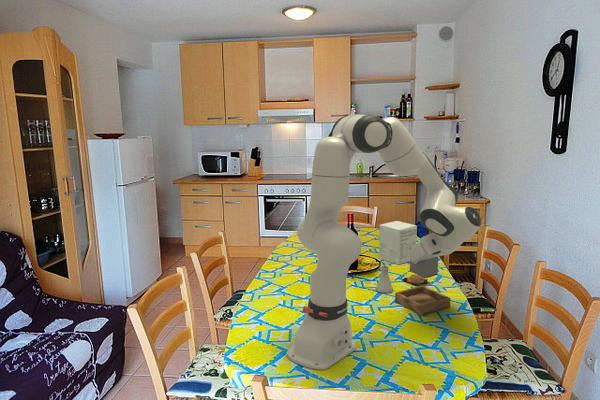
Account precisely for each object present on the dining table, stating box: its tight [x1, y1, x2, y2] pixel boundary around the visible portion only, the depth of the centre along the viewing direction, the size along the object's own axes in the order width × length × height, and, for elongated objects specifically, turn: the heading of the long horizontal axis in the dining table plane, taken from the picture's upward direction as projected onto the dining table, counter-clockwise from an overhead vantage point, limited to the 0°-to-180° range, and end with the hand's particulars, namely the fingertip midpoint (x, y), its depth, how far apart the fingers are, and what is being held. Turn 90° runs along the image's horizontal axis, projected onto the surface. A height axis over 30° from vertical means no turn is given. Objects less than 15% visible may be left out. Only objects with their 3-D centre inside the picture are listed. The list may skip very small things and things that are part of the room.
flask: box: [375, 265, 394, 294], centre depth 164 cm, size 7×7×10 cm
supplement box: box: [378, 220, 418, 265], centre depth 200 cm, size 13×13×18 cm
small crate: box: [409, 248, 439, 279], centre depth 148 cm, size 8×6×9 cm
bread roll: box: [401, 274, 432, 287], centre depth 172 cm, size 11×8×4 cm
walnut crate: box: [394, 285, 451, 317], centre depth 151 cm, size 14×14×4 cm
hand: (422, 260), depth 148 cm, fingers closed on small crate, 6 cm apart
